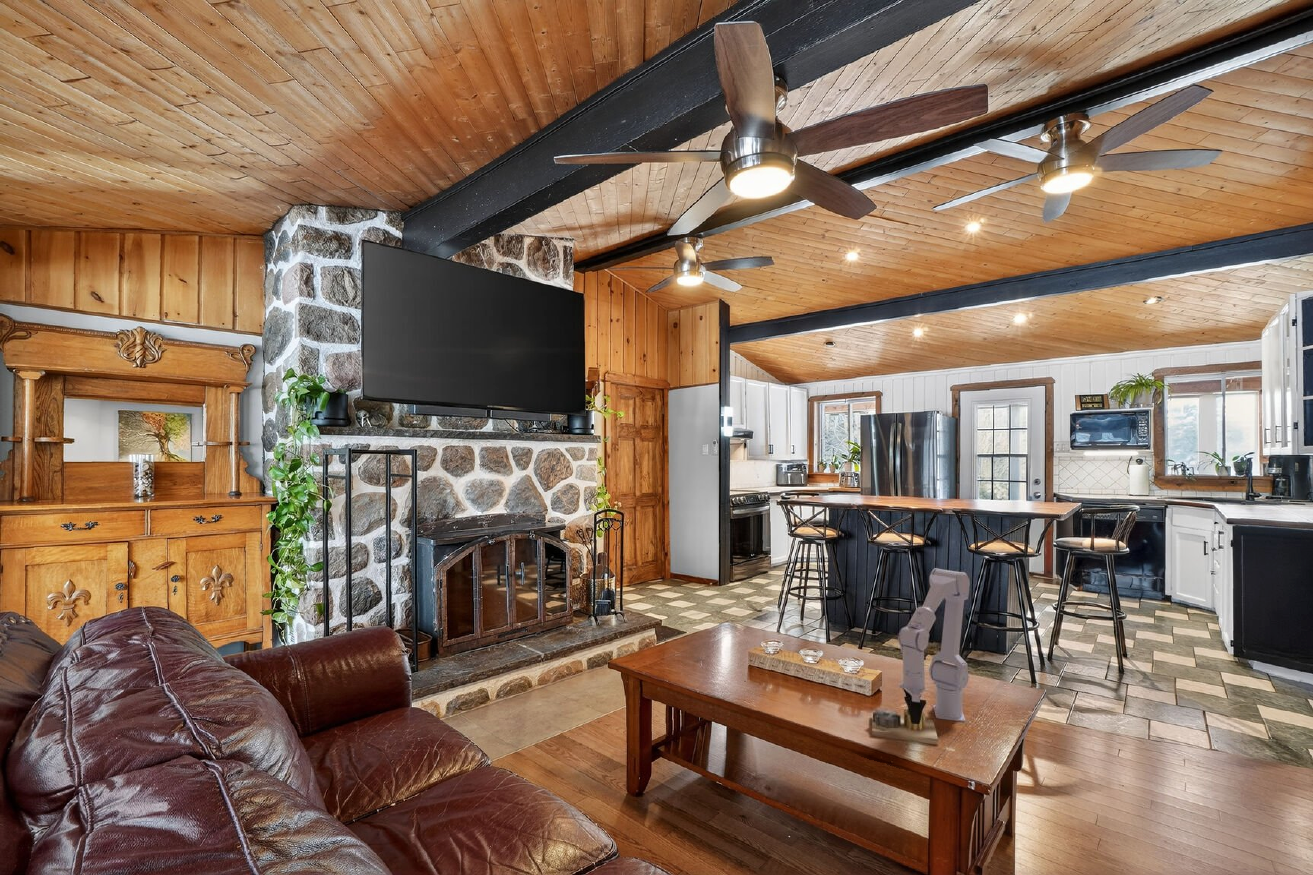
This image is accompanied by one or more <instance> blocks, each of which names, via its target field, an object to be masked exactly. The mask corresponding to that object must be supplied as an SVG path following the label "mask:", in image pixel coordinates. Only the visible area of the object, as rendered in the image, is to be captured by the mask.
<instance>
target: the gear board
mask: <svg viewBox="0 0 1313 875" xmlns="http://www.w3.org/2000/svg"><path fill="white" fill-rule="evenodd" d="M871 728H872V730H871V732H872V736H873V737H877V738H878V737H880V738H886V739H894V740H900V741H908V742H915V743H922V744H930V745H937V746H938V745H939V738H938V737H939V736H938V735H937V730H936V726H935V723H934V720H933V719H928V718H925V728H926V729H925V730H922V731H919V730H917V731H914V730H910V729H909V728H906V727H905V726H904V715H901V714H900V715H899V714H898V712H897V711H895V710H893V711H892V710H889V709H887V708H884V709H878V708H877V709H875V711H872V712H871Z"/></svg>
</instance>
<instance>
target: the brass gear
mask: <svg viewBox="0 0 1313 875" xmlns="http://www.w3.org/2000/svg"><path fill="white" fill-rule="evenodd" d="M903 716H904V726H905V727H906V728H909V729H910V730H914V731H917V730H919V731H922V730H925V729H926V728H925V719H926V713H925V712H924V711H922V715H921V720H920V724H912V723H911V719H910V714H909V709H908V708H907V709H904V710H903Z"/></svg>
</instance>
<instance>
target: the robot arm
mask: <svg viewBox="0 0 1313 875" xmlns="http://www.w3.org/2000/svg"><path fill="white" fill-rule="evenodd" d="M928 582H929V586H930V587H929V590H928V592H927V595H926V597H925V600H924V602H923V604H922V606H918V607H916V609H915V611H914V613H913V615H912V616H911V619H910V620H909V622H908V623H907V625H906V626H904V627H902V628H901V629H900V631H899V632H898V637H897V641H898V644H899V648H900V651H901V653H902V682H899V683H898V687H899V688H901V689H902V690H903V692H904V695H905V696H904V697H903V699H904V702H905V704H906V705H907V709H909V714H910V719H911V723H912V724H920V720H921V715H922V711H923V710H924V708H925V707H926V705H927V700H925V699H921V697H922V695H923V693H924V692H925V691H926V686H925V685H926V684H925V650H926V649H927V647H928V645H929V638H930V631H931V629H932V627H933V625H934V624H935V622H936V619H937V617H936V614H935V613H936V611H937V609H938V607H939V606H940V604H941V603H942V602H943V601H944V600H945V608H944V617H943V624H942V625H943V626H942V634H941V635H942V636H941V644H940V645H941V646H940V651H939V652H938V653H936V654H933V655H932V659H931V662H930V665H929V668H928V675H929V677H930V679H931V680H932V681H933V685H935V701H936V702H935V704H934V705H933V710H934V714H935V718H936V719H939V720H940V719H941V720H948V721H956V722H964V723H965V722H966V721H967V720H966V718H965V715H964V713H963V690H964V689H965V688H966V687H967V685H968V683H969V672H968V671H969V670H968V669H969V667H968V665H969V664H968V663H967V662H966V661H965V660H964V659H963V658H962V657H961V655H960V649H961V648H960V646H961V637H962V627H963V616H964V615H963V614H964V605H965V601H966V600H968V599H969V595H970V586H971V585H970V584H971V581H970V578H969V576H968V574H967V573H966V572H965V571H956V570H954V571H953V570H950V569H949V570H948V569H941V568H938V567H935V568H933V569H932V571H931V572H930V575H929V581H928ZM923 712H924V711H923Z"/></svg>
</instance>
